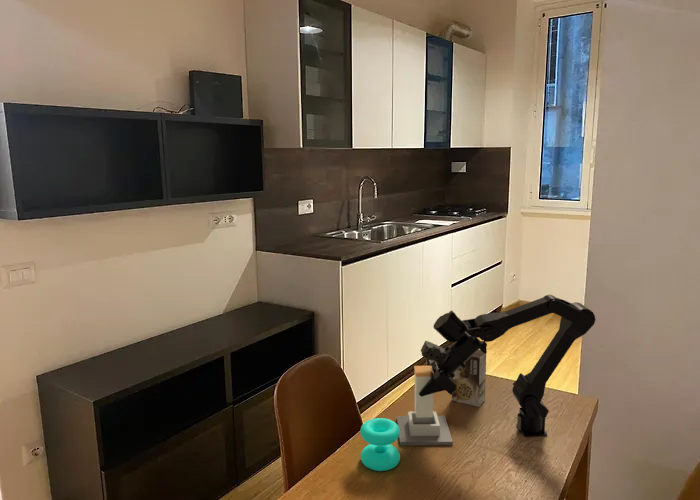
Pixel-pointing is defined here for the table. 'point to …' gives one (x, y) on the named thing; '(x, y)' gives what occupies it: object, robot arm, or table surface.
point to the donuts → (380, 444)
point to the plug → (421, 378)
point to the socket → (423, 430)
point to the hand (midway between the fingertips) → (418, 391)
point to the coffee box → (471, 381)
